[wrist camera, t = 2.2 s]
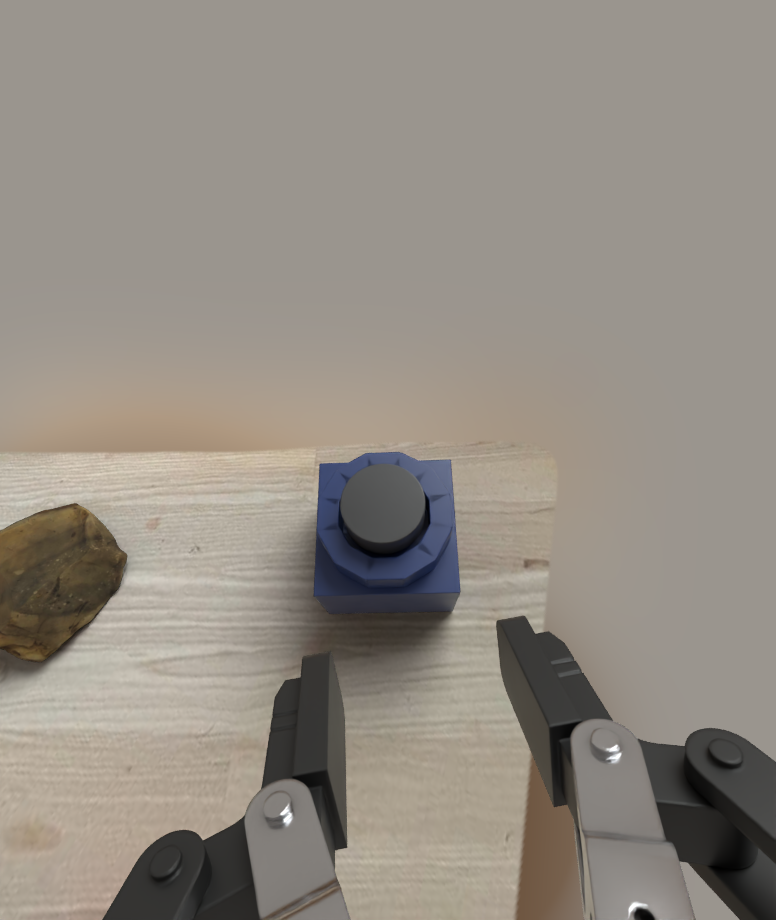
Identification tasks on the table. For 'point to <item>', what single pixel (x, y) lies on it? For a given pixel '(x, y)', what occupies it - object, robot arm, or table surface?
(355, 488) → the grey push button
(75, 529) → the decorative stone
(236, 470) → the table surface
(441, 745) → the table surface
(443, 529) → the near button housing
